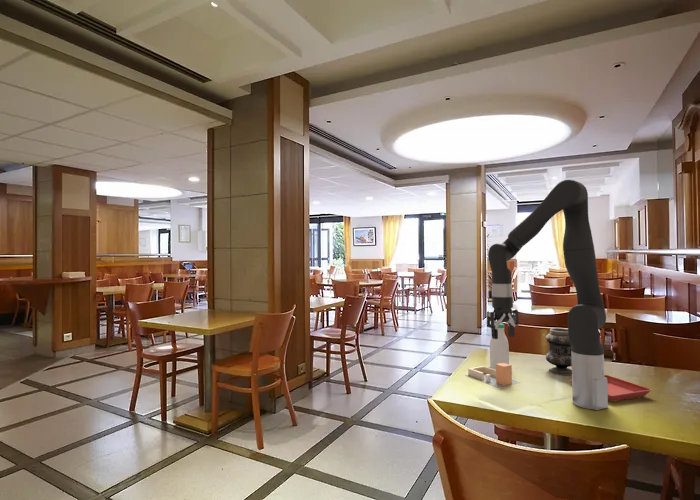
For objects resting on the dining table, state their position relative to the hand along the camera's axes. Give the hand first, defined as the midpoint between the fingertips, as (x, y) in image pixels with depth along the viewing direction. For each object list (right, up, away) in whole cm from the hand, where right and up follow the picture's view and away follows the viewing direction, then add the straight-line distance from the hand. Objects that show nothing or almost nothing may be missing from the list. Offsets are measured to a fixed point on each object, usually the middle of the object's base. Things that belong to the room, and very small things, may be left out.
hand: (503, 337), depth 152 cm
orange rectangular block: (0, -17, -1) cm, 17 cm away
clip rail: (-3, -18, +5) cm, 19 cm away
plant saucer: (+34, -18, -9) cm, 40 cm away
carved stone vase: (+31, -18, +16) cm, 39 cm away
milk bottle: (+6, -19, +20) cm, 28 cm away
